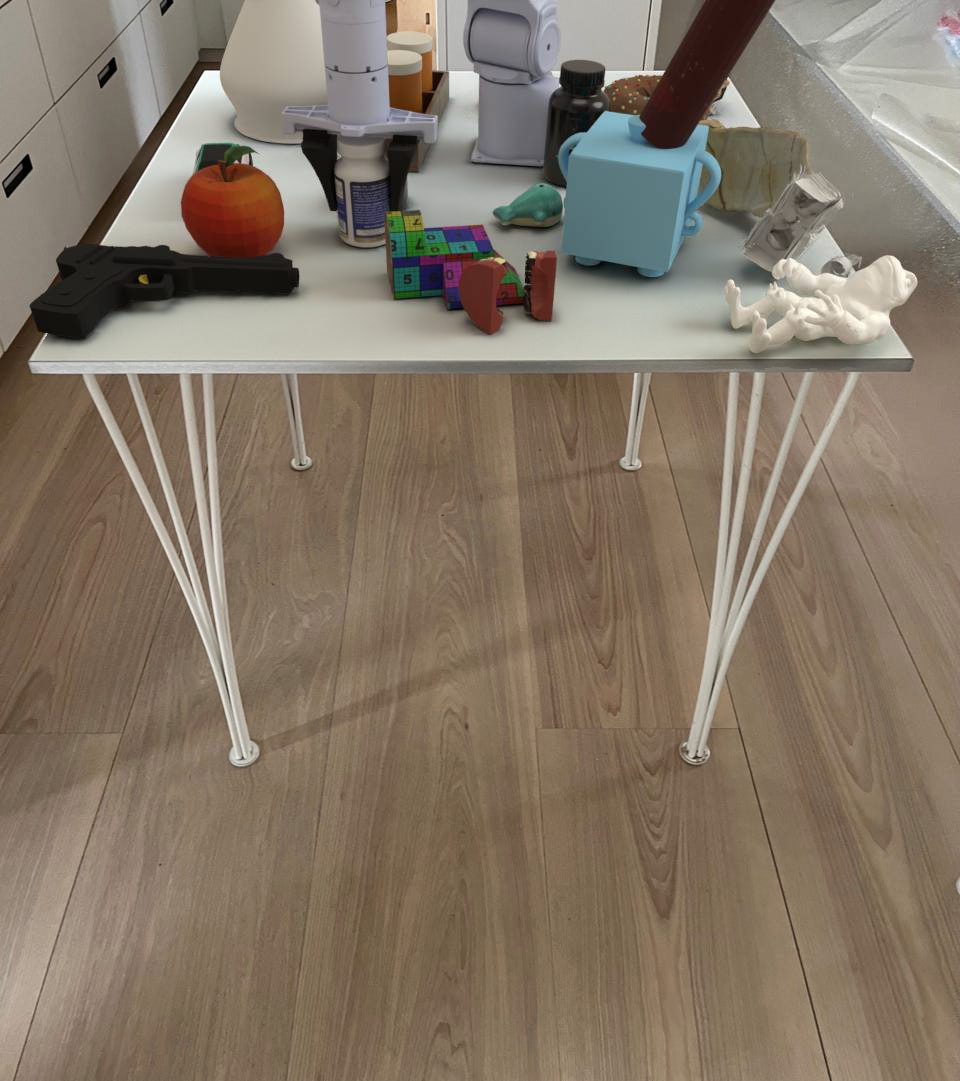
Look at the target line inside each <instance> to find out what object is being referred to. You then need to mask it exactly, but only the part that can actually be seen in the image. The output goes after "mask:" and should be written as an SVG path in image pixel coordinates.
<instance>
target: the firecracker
mask: <svg viewBox="0 0 960 1081" xmlns="http://www.w3.org/2000/svg"><path fill="white" fill-rule="evenodd" d="M775 2H776V0H704V1H703V3H702V5H701V7H700V9H699V10H698V12H697V14H696V16H695V17H694V19H693V21H692V22H691V24H690V26H689V28H688V30H687V32H686V33H685V35H684V37H683V38H682V40H681V42H680V44H679V46H678V47H677V49H676V51H675V53H674V55H673V56H672V58H671V60H670V62H669V63H668V65H667V67H666V68H665V70H664V72H663V74H662V75H661V76H662V77H661V79H660V81H659V82H658V84H657V86H656V88H655V89H654V91H653V93H652V95H651V97H650V98H649V100H648V102H647V104H646V105H645V107H644V109H643V111H642V112H641V114H640V117H639V119H640V120H641V122H643V123H644V124H645V126H646V128H645V129H644V131H643V132H641V135H642V136H643V137H644V138H645V139H646V140H647V141H648V142H650V143H651V144H652V145H654V146H656V147H658V148H660V149H673V148H679V147H682V146H684V145H685V144H686V143H687V141H688V140H689V138H690V136H691V135H692V133H693V132H694V130H695V128H696V127H697V125H698V124H699V122H700V120H701V119H702V117H703V116H704V114H705V112H706V111H707V109H708V108H709V106H710V104H711V103H712V101H713V100H714V98H715V96H716V95H717V93H718V92H719V90H720V88H721V87H722V85H723V84H724V82H725V80H726V79H727V80H728V78H729V77H728V75H729V74H730V72H731V73H732V71H733V69H734V67H735V66H736V64H737V63H738V61H739V60H740V58H741V56H742V55H743V53H744V51H745V50H746V48H747V47H748V45H749V43H750V42H751V40H752V38H754V35H755V34H756V33H757V31H758V30H759V28H760V26H761V24H762V23H763V21H764V19H765V18H766V16H767V15H768V13H769V12H770V10H771V8H772V7H773V5H774V3H775ZM727 77H728V78H727Z"/></svg>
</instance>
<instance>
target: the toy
mask: <svg viewBox="0 0 960 1081" xmlns="http://www.w3.org/2000/svg"><path fill="white" fill-rule="evenodd" d="M731 76H732V71H731V72H730V74H729V75H728V77H727V79H726V80H725V82H724V84H723V85H722V87H721V88H720V90H719V92H718V93H717V95H716V96H715V98H714V100H713V101H714V103H716V102H718V101H721V100H722V99H723V98H724V96H725V93H726V91H727V88H728V86H729V85H730V80H728V78H730V77H731ZM714 103H713V104H712V106H711V107H710V112H711V113H710V114H712V115H714V116H715V115H716V114H717V112H718V110H719V107H718V106H716V104H714Z"/></svg>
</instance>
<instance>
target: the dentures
mask: <svg viewBox="0 0 960 1081" xmlns="http://www.w3.org/2000/svg"><path fill="white" fill-rule="evenodd" d="M525 258H526V259H525V265H524V285H523V287H524V289H525V294H524V296H523V297H524V299H525V300H524V303H523V307H524V308H523V310H524V312H525V313H526V314H531V315H532V317H533V318H535V319H537V320H538V321H540V322H542V321H543V322H544V321H545V322H548V321H549V322H550V321H551V322H552V321H553V311H554V310H553V308H554V299H555V290H556V289H555V287H556V277H557V265H558V255H557V252H556V251H555V250H546V251H538V250H533V251H529V252H527V253H526V256H525ZM505 260H506V259H505V258H504V259H502V258H495V259H494V257H490V258H487V259H481V260H480V261H478V262H477V263H475V264H473V265H470V266H469V267H467V268H466V269H465V270H464V271H463V272H462V274H461V276H460V279H459V285H458V288H459V296H460V299H461V303H462V305H463V308H462V309H463V310H464V311H465V313H466V314H467V317H469V319H470V320H471V321H472V322H473V323H474V325H476V326H477V327H478V328H479V329H481V330H482V331H483V332H485V333H487V334H489V335H492V334H494V333H496V332H498V331H499V330H500V328H501V326H502V325H503V324H502V323H503V322H504V312H503V311H501V310H500V309H499V308H498V307H497V305H496V295H497V291H498V288H499V285H500V283H501V281H502V280H503V278H504V277H505V272H506V269H505V268H506V267H505V263H506V261H507V260H506V261H505Z"/></svg>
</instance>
